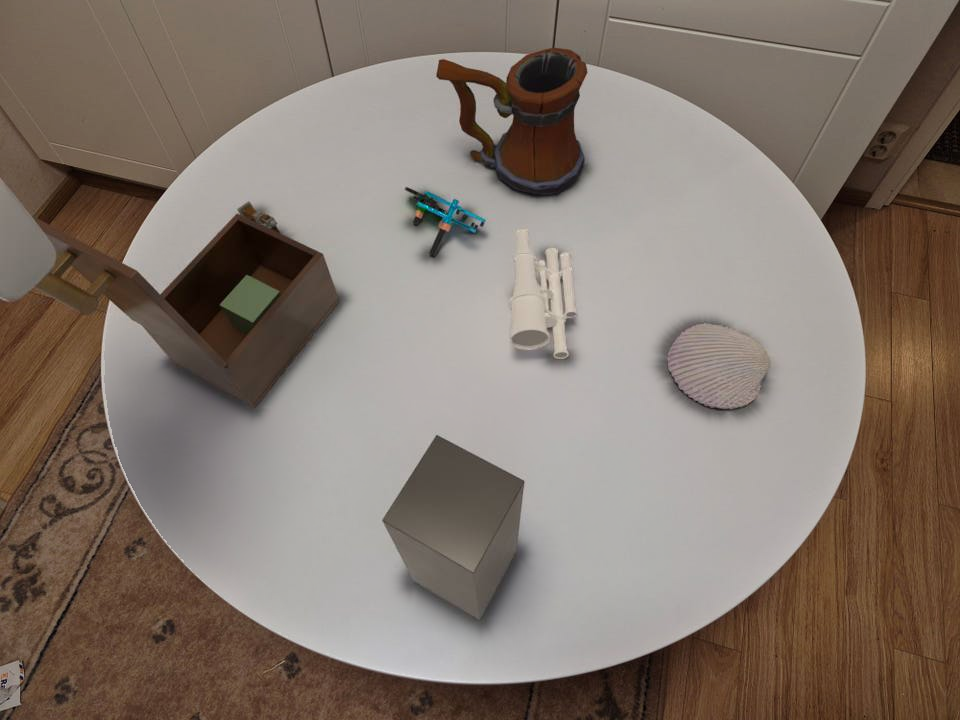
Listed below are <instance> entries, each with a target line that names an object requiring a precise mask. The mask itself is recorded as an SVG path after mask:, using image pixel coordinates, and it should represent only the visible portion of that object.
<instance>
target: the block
mask: <svg viewBox="0 0 960 720" xmlns="http://www.w3.org/2000/svg"><path fill="white" fill-rule="evenodd" d="M280 296H281V293H280V291H278V290H276V289H274V288H272V287H270V286H268V285H266V284H264V283H262V282H260V281H258V280H256V279H254V278H252V277H250V276H248V275H246V276H245V277H244V278H243V279H242V281H241V282H240V283H239V284H238V285H237V286H236V287H235V288H234V289H233V291H232V292H231V293H230V294H229V295H228V296H227V297H226V298H225V299H224V300H223V302H222V303H221V304H220V306H221V308H222V310H223V311H224V313H225V314H226V316H227V317H228V319H229V321H230V322H231V324H232V325H233V327H234V328H236V329H238V330H240V331H241V332H243V333H245V334H247V335H248V334H249V332H250V331H251V330H252V329H253V328H254V327H255V325H256V324H257V323H258V322H259V321H260V319H261V318H262V317H263V316H264V315H265V314H266V312H267V311H268V310H269V309H270V308H271V306H272V305H273V304H274V303H275V302H276V300H277V299H278V298H279V297H280Z"/></svg>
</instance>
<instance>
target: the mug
mask: <svg viewBox="0 0 960 720" xmlns="http://www.w3.org/2000/svg"><path fill="white" fill-rule="evenodd" d="M588 73H589V72H588V67H587V63H586V62H584V61H582V58H581V55H580V54H578V53H576V52H575V51H573V50H572V49H567V48H560V47H550V48H547V49H546V48H545V49H542V50H538V51H535V52H532V53H529V54H526V55H524V56H523V57H521V59H520V60H518V61H516V63H514V64H513V65H512V66H511V67H510V69H509V71H508V73H507V75H506V78H505V79H506V80H505V81H504V80H503V79H502V78H500V77H498V76H497V75H495V74H492V73H490V72H487V71H484V70H481V69H476V68H470V67H466V66H464V65H461V64H458V63H456V62H454V61H451V60H448V59H444V58H442V59H441V58H440V59H439V60H438V64H437V69H436V74H435V75H436V76H435V77H436V78H437V79H438V80H439V81H440V80H441V81H449V82H450V83H451V85H452V86H453V88H454V90H455V92H456V94H457V96H458V100H459V106H460V110H459V111H460V113H459V120H458V123H459V125H460V128H461V131H462V132H464V133H465V134H466V135H467V136H469V137H470V138H473V139H475V140H476V141H478V143H480V144H481V146H482V148H481V150H480V151H478V150H475V149H472V150H471V151H470V152H469V155H470V156H471V158H472V159H473V160H474V161H475V162H479V163H488V164H491V165H494V167H495V171H496V175H497V178H498V179H499V180H501V181H502V182H503V183H505V184H506V185H508V186H509V187H511V189H514V190H515V191H519V192H523V193H529V194H534V195H557V194H559V193H560V192H562V191H564V190H565V189H566V188H568V187H569V186H572V184H574V183H575V182H576V180H577V178H578V176H579V175H580V173H581V171H582V169H583V168H584V165H585V155H584V152H583V149H582V146H581V143H580V142H579V140H577V136H576V132H575V108H576V106H577V103H578V101H579V100H580V97H581V94H580V89H581V87H582V86H583V83H584V82H585V78H586V77H587V75H588ZM467 83H469V84H470V83H471V84H475V85H480V86H484V87H487V88H490V89H492V90H493V91H494V92H495V96H494V97H493V105H494V108H495V109H496V111H497V114H498V115H499V117H501V118H503V119H508V118H509V117H510V116H513V117H512V123H511V124H510V126H509V127H508V130H507V131H506V132H504V133H502V134H501V137H500V139H499V140H498V142H497V144H495V141H494V140H493V139H492V137H491V135H490V134H489V133H488V132H487V131H485V130H484V129H483V127H481V126H480V125H479V124H478V123H477V121H476V114H477V100H476V98H475V94H474V92H473V91H472V89H471V88H470V86H469V85H468V84H467Z"/></svg>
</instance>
